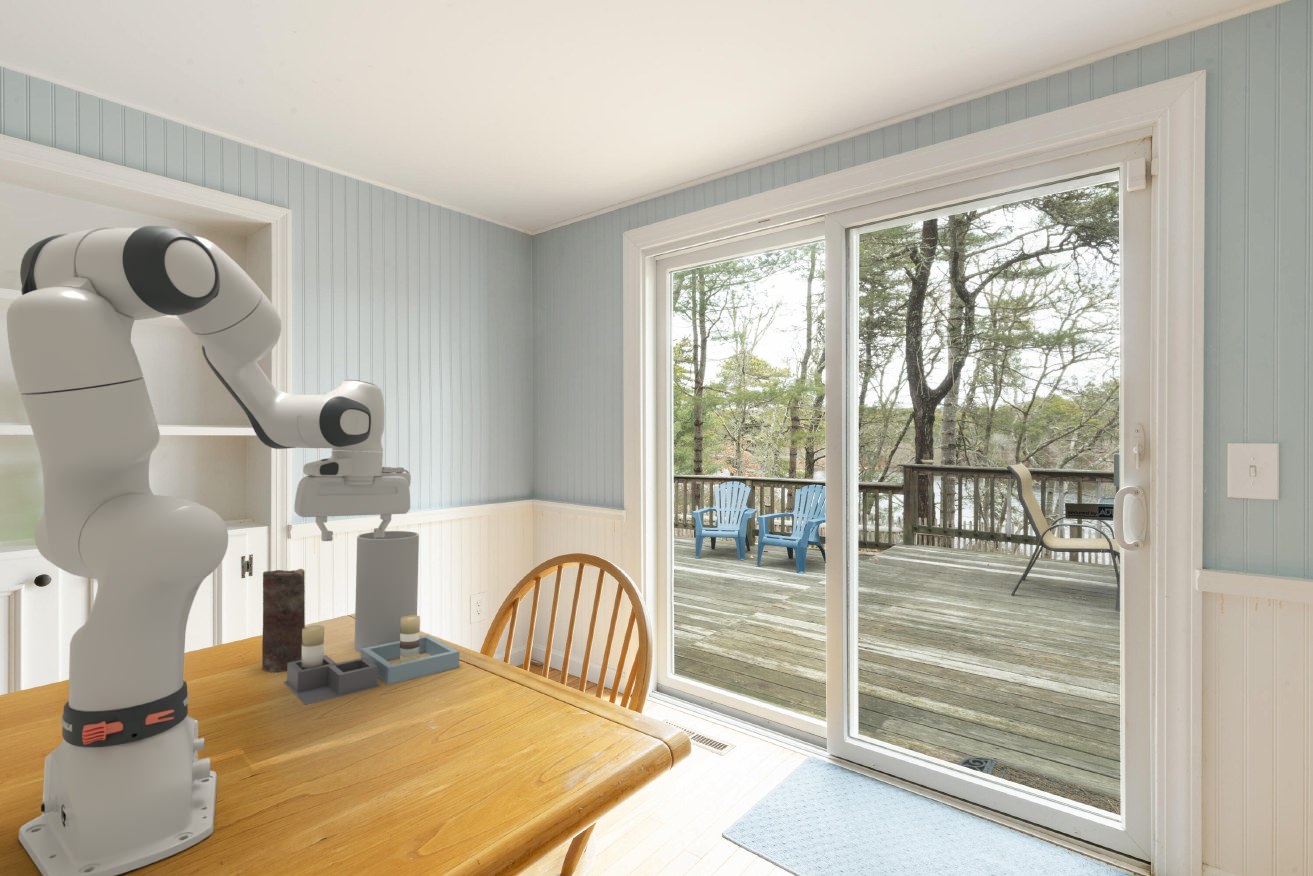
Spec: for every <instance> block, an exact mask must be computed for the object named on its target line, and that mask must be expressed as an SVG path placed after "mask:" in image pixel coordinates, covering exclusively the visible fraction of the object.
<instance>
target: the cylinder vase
mask: <svg viewBox="0 0 1313 876" xmlns="http://www.w3.org/2000/svg"><path fill="white" fill-rule="evenodd" d="M419 542H420V533H418V532H415V531H407V530H403V531H401V530H385V536H384V538H374V531H372V532H365V533H360V534H358V535H357V536H356V564H355V565H356V567H355V568H356V570H355V572H356V573H355V605H354V606H355V611H354V612H355V616H354V617H355V618H354V622H355V623H354V650H355V651H356V652H358V653H360V654H361V649H362V648H367V647H372V646H377V645H382V644H387V643H392V642H397V641H400V628H401V617H403V616H408V615H417V616H418V597H419V596H418V594H419V593H418V591H419V589H418V588H419V587H418V586H419V555H420V554H419V548H420V547H419V546H420V544H419Z"/></svg>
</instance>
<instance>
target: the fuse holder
mask: <svg viewBox="0 0 1313 876" xmlns="http://www.w3.org/2000/svg"><path fill="white" fill-rule="evenodd" d="M286 673H287V675H286V681H283V684H284V685H286V686H287V688H288V689H289V690H290V691H291V692H293V694H294V695H295V696H296V698H298V700H300V701H301V702H302V703H303V705H305V706H307V705H311V704H314V703H319V702H322V701H323V702H324V701H327V700H331V699H335V698H339V697H343V696H344V697H345V696H347V695H351V694H355V693H356V694H357V693H359V692H364V691H367V690H371V689H375V688H380V687H381V685H380V684H379V683H378V677H377V674H378V667H377V666H376V665H374V664H373V663H372V662H370V661H369V660H367V659H366V658H365V657H364V658H361V657H359V658H356V659H351V660H346V661H345V660H344V661H341V662H336V661H334V659H332V658H330V657H329V656H328V655H327V654H324V661H323V666H318V667H313V668H309V669H304V670H302V669H301V660H299V661H294V662H289V663H287V671H286Z"/></svg>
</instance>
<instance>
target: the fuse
mask: <svg viewBox="0 0 1313 876" xmlns="http://www.w3.org/2000/svg"><path fill="white" fill-rule="evenodd" d="M324 653H325V626H324V625H317V624H316V625H309V626H305V628H303V629H302V658H301V669H302V670H304V669H309V668H313V667H318V666H323V661H324V655H325V654H324Z"/></svg>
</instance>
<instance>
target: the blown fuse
mask: <svg viewBox="0 0 1313 876" xmlns="http://www.w3.org/2000/svg"><path fill="white" fill-rule="evenodd" d="M420 630H421V616H420V615H418V614H417V615H408V616H403V617H401V628H400V658H399V663H402V662H406V661H410V660H415V659H419V658H420V654H419V646H420V637H421V636H420V634H421V631H420Z"/></svg>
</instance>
